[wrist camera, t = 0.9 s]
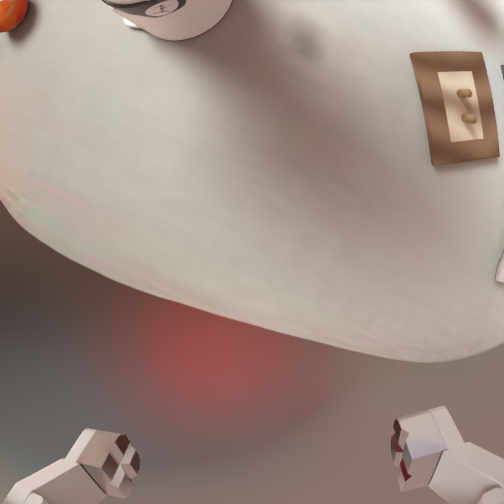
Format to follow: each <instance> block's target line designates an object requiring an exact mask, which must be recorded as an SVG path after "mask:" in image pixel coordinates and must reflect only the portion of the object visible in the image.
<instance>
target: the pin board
mask: <svg viewBox="0 0 504 504" xmlns="http://www.w3.org/2000/svg"><path fill="white" fill-rule="evenodd" d="M410 58H411V61H412V65H413V69H414V73H415V76H416V80H417V85H418V89H419V93H420V98H421V102H422V107H423V112H424V117H425V123H426V128H427V134H428V140H429V147H430V154H431V161H432V164H433V165H436V166H437V165H443V164H450V163H457V162H464V161H472V160H479V159H487V158H495V157H500V154H499V144H498V134H497V126H496V119H495V113H494V106H493V101H492V95H491V90H490V85H489V80H488V76H487V71H486V67H485V63H484V59H483V55H482V52H458V51H447V52H415V53H411V54H410Z"/></svg>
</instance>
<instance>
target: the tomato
mask: <svg viewBox="0 0 504 504" xmlns="http://www.w3.org/2000/svg"><path fill="white" fill-rule="evenodd" d="M27 8H28V5H27V0H3V1H1V2H0V33H1V32H6V31H10V30H12V29H13V28H14V27H16V26H17V25H18V24H19V23H20V22H21V21H22V20H23V19H24V17H25V14H26V12H27Z"/></svg>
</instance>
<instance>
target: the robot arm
mask: <svg viewBox="0 0 504 504" xmlns="http://www.w3.org/2000/svg"><path fill="white" fill-rule="evenodd" d="M1 1H3V0H0V2H1ZM102 1H103V2H104V3H106V4H107V5H109V6H110V7H111V9H112V10H113V11H114V12H116V13H117V14H119V15H120V16H122V17H123V20H124V23H125V25H127V26H129V27H132V28H140V29H144V30H146V31H147V32H149V33H150V34H152V35H154V36H156V37H158V38H161V39H165V40H184V39H188V38H192V37H195V36H197V35H200V34H202V33H204V32H206V31H207V30H209V29H210V28H212V27H213V26H214V25H215V24H217V23H218V22H219V21H220V20H221V19H222V17H223V16H224V15H225V13H226V12H227V10H228V9H229V7H230V4H231V2H232V0H102ZM393 428H394V431H395V434H394V435H393V436H392V437H391V455H392V460H393V464H394V465H396V466H397V467H399V469H398V473H397V478H398V482H399V486H400V489H401V492H405V491H409V490H413V489H417V488H420V487H424V486H427V485H429V487H430V488H431V489H432V490H433V491H435V492H436V493H437V494H439V495H440V496H441V497H442V498H444V499H445V500H446V501H447V502H449V503H450V504H504V459H502V458H500V457H498V456H496V455H494V454H492V453H490V452H488V451H486V450H484V449H482V448H480V447H478V446H476V445H474V444H472V443H471V442H467V443H464V441H463V439H462V437H461V435H460V433H459V431H458V429H457V427H456V425H455V423H454V421H453V419H452V418H451V416H450V414H449V412H448V410H447V408H446V407H445V406H440V407H437V408H433V409H430V410H425V411H422V412H419V413H415V414H411V415H408V416H404V417H400V418H396V419H395V421H394V425H393ZM129 444H130V440H129V439H128V437H127V436H126V435H123V434H117V433H111V432H105V431H100V430H94V429H88V428H87V429H85V430H84V431H83V432H82V433H81V435H80V437H79V438H78V440H77V441H76V443H75V444H74V446H73V447H72V449H71V451H70V452H69V453H68V455H67V457H66V458H65V459H60V460H59V461H57V462H55V463H53V464H51V465H49V466H47V467H46V468H44V469H42V470H40V471H38V472H36V473H34V474H33V475H31V476H29V477H27V478H25V479H23V480H21V481H19V482H17V483H16V484H15V485H14V487H13V488H12V490H11V491H10V493H9V494H8V496H7V497H6V499H5V500H4V502H3V504H97V503H98V502H100V501H101V500H102V499H103V498H104V497H106V495H111V496H116V497H121V498H126V499H127V498H128V496H129V494H130V491H131V489H132V486H133V482H132V478H133V477H135V476H136V475H137V474H138V472H139V470H140V457H139V454H138V453H137V451H136V450H135V449H134V448H132V447H131V446H130V445H129Z"/></svg>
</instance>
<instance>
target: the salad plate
mask: <svg viewBox="0 0 504 504" xmlns="http://www.w3.org/2000/svg"><path fill="white" fill-rule="evenodd" d="M496 281H498V282H501V283H504V252H503V255H502V257H501V260H500V262H499V265H498V268H497V272H496Z"/></svg>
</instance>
